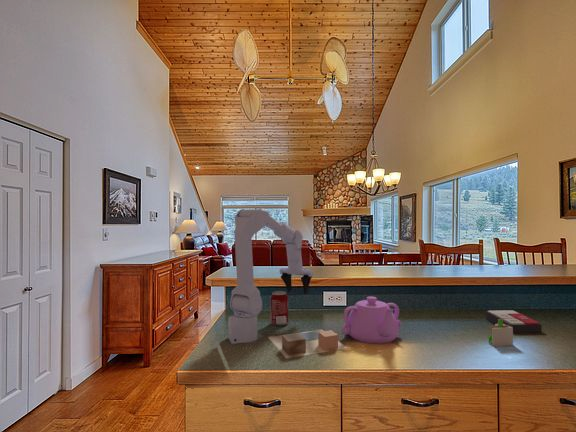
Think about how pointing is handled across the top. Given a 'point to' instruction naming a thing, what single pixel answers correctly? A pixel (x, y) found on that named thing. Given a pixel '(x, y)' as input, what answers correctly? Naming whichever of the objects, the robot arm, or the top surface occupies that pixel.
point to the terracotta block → (328, 340)
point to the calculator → (514, 320)
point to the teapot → (372, 321)
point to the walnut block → (293, 344)
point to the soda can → (279, 308)
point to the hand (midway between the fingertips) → (297, 291)
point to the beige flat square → (311, 344)
